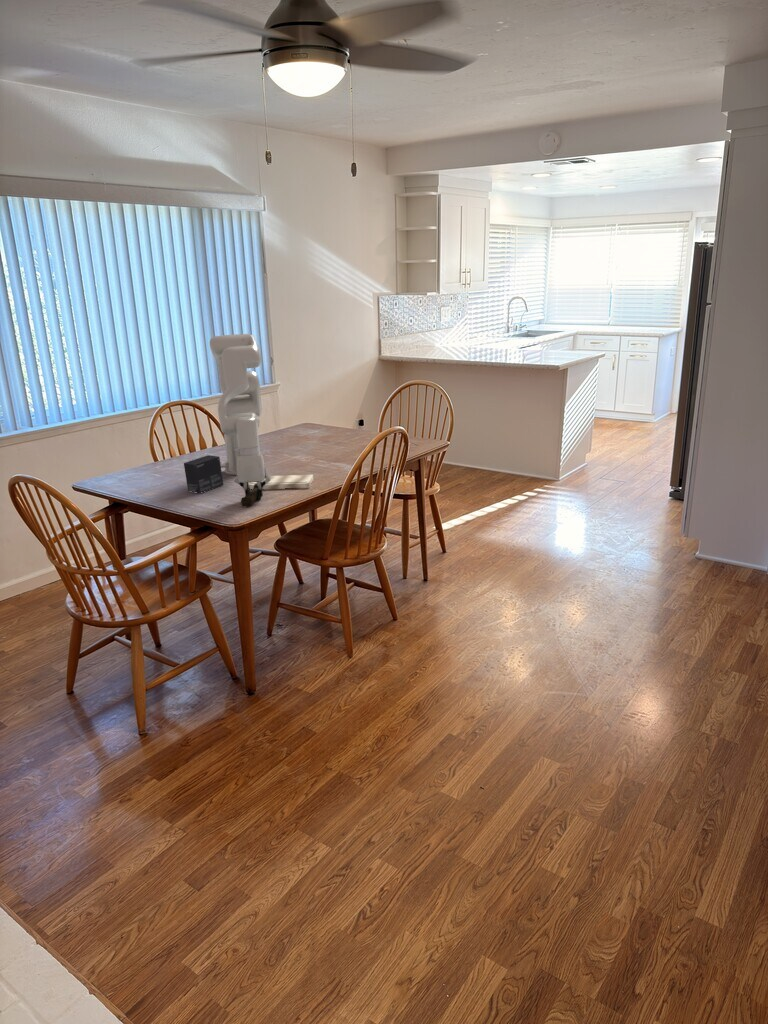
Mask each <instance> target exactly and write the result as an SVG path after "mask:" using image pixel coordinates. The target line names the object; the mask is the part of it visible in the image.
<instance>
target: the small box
mask: <svg viewBox="0 0 768 1024" xmlns="http://www.w3.org/2000/svg"><path fill="white" fill-rule="evenodd" d="M220 462H221V459H220V456H216V455H209V454H208V455H205V456H201V457H198V458H194V459H192V460H189V461H186V462H184V463H183V468H184V473H185V479H186V485H187V486H186V487H187V492H188V491H192V492H197V493H196V494H198V493H201V492H203V493H205V492H204V491H206V492H208V491H207V490H209V489H211V490H213V489H212V488H214V489H216V488H215V487H217V488H219V487H222V486H223V485H224V480H223V471H222V468H221V465H220ZM221 485H222V486H221ZM218 486H219V487H218ZM209 491H210V490H209ZM192 492H191V493H192ZM201 494H202V493H201Z"/></svg>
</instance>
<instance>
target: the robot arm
mask: <svg viewBox="0 0 768 1024" xmlns="http://www.w3.org/2000/svg"><path fill="white" fill-rule="evenodd" d="M209 339H210V340H209V348H210V350H211V353H212V355H213V357H214V358H215V360H216V363H217V367H218V368H217V369H218V378H219V388H220V391H221V393H222V395H221V396H220V398H219V401H218V404H217V414H218V420H219V421H218V422H219V426H220V430H221V432H222V433H223V437H224V445H225V454H226V461H224V462H223V461H222V462H221V461H220V465H221V469H223V468H225V469H224V474H227V475H230V476H231V475H233V476H236V477H235V479H234V481H233V482H234V483H235V484H237V485H239V486H240V487H241V488H242V489H243V490H244V493H245V496H246V495H247V494H248V493H249V492H250V491H251V490H250V488H249V486H248V484H249V483H250V482H257V485H258V489H257V494H258V497H257V500H261V499H262V498H263V497H264V496H263V495H264V494H263V492H262V487H263V486H264V485H265V484H266V483H268V482H269V481H270V480H271V479H270V477H269V476H270V475H269V474H268V473H267V470H266V464H265V460H264V456H263V454H262V452H261V451H260V442H259V432H258V431H259V428H260V419H259V418H260V417H261V415H262V409H263V408H262V397H261V384H260V379H259V375H258V374H257V373H256V371H253V370H247V369H253V368H259V367H260V365H261V364H262V363H261V361H262V360H261V359H262V357H261V352H260V349H259V345H258V344H257V341H256V338H255V337H254V335H253V334H251V333H242V334H224V335H223V334H222V335H221V334H220V335H215V336H213V337H211V338H209ZM264 479H266V480H264ZM263 480H264V481H263ZM262 481H263V482H262ZM245 496H244V497H245Z"/></svg>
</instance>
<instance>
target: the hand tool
mask: <svg viewBox="0 0 768 1024" xmlns="http://www.w3.org/2000/svg"><path fill="white" fill-rule="evenodd" d="M257 489H258V485H257V483H256V484H255V485H254V488H253V489H252V490H250V492H249V493H248V494H247V495H246V496H244V497H242V498H241V499H240V504H241V506H242V507H243V506H246V507H245V508H250V507H251V506H252V505H253V503H254V502H255V500H257V499H258V494H257ZM262 492H263V487H262ZM249 506H250V507H249Z"/></svg>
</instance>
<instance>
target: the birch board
mask: <svg viewBox="0 0 768 1024" xmlns="http://www.w3.org/2000/svg"><path fill="white" fill-rule="evenodd" d="M268 476H269V477H270V479H271V480H270V481H269V482H268V483H266V484H265V485H264V486H263V489H264V490H286V489H285V488H297V489H310V488H311V486H312V484H313V482H314V474H293V475H287V474H286V475H268ZM264 480H266V479H264ZM264 480H263V481H264ZM263 481H262V482H263ZM312 481H313V482H312ZM256 483H257V482H248V486H249V488H250V489H253V488H254V485H255V484H256ZM311 483H312V484H311ZM310 485H311V486H310Z"/></svg>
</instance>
